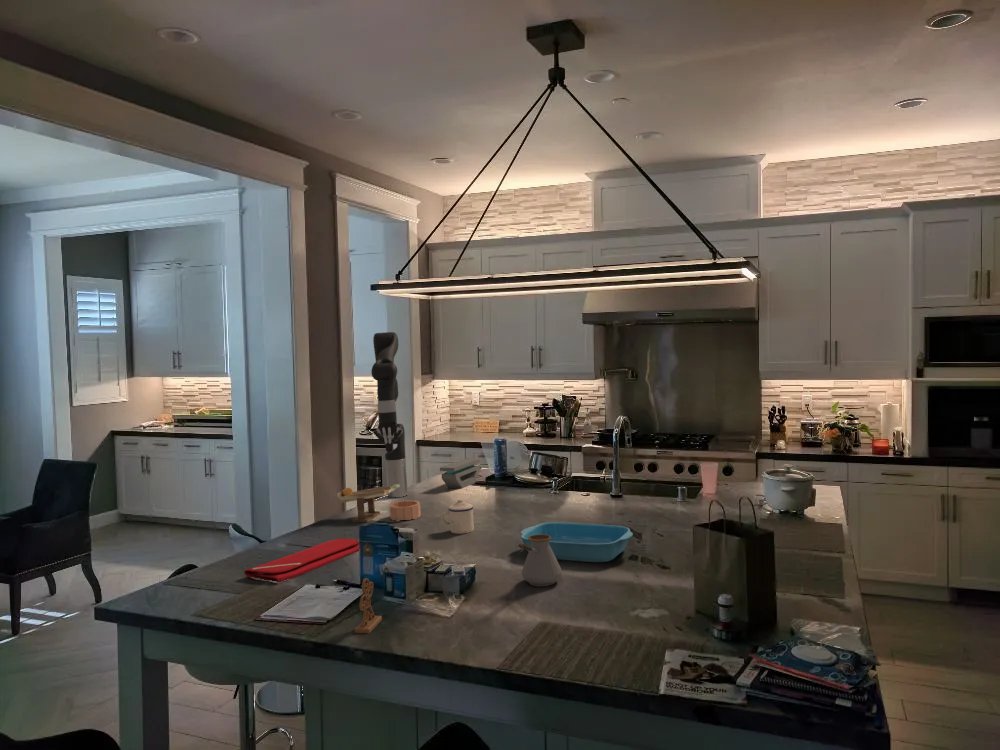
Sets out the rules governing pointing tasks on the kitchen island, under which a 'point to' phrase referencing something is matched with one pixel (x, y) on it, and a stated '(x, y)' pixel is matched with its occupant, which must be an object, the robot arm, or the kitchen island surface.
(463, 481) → the grey heat sealer
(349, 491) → the ball
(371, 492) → the ramp
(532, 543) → the coffee pot
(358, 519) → the ramp stand
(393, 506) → the terracotta bowl
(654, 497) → the kitchen island surface
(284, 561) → the dish drying mat
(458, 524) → the teacup with lid
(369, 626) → the wooden sculpture
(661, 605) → the kitchen island surface
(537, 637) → the kitchen island surface
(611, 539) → the casserole dish
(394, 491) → the robot arm
